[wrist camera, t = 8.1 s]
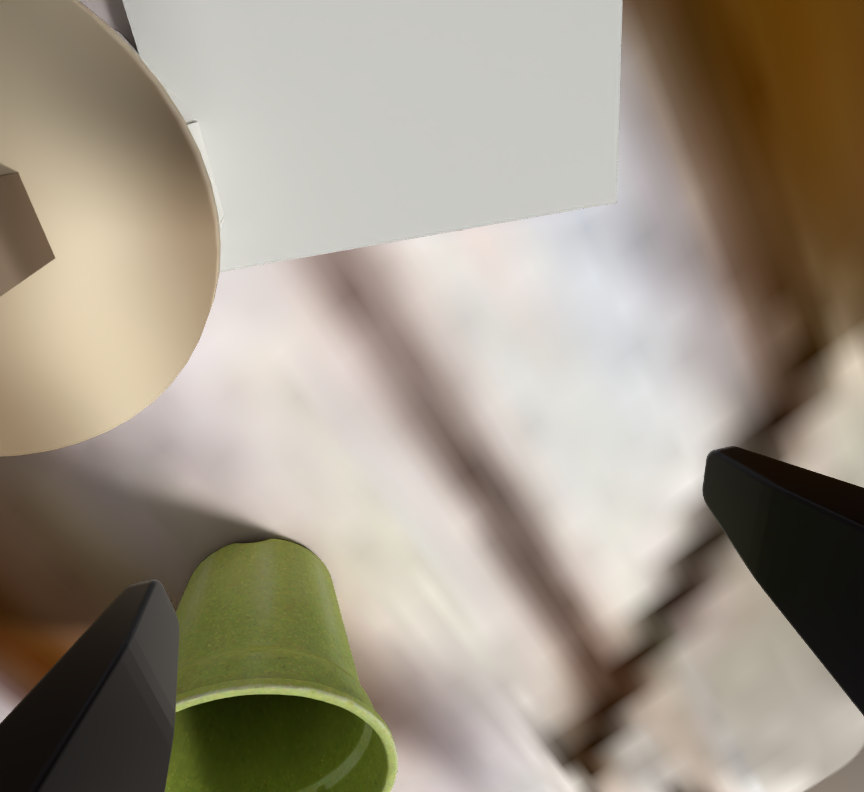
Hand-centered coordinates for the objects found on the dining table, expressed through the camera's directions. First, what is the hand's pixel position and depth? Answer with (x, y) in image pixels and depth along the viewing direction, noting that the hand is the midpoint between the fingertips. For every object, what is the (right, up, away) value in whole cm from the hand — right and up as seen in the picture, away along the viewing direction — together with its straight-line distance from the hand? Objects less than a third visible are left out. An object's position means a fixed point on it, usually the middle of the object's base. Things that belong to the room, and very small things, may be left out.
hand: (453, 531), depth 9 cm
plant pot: (-8, -6, +16) cm, 19 cm away
